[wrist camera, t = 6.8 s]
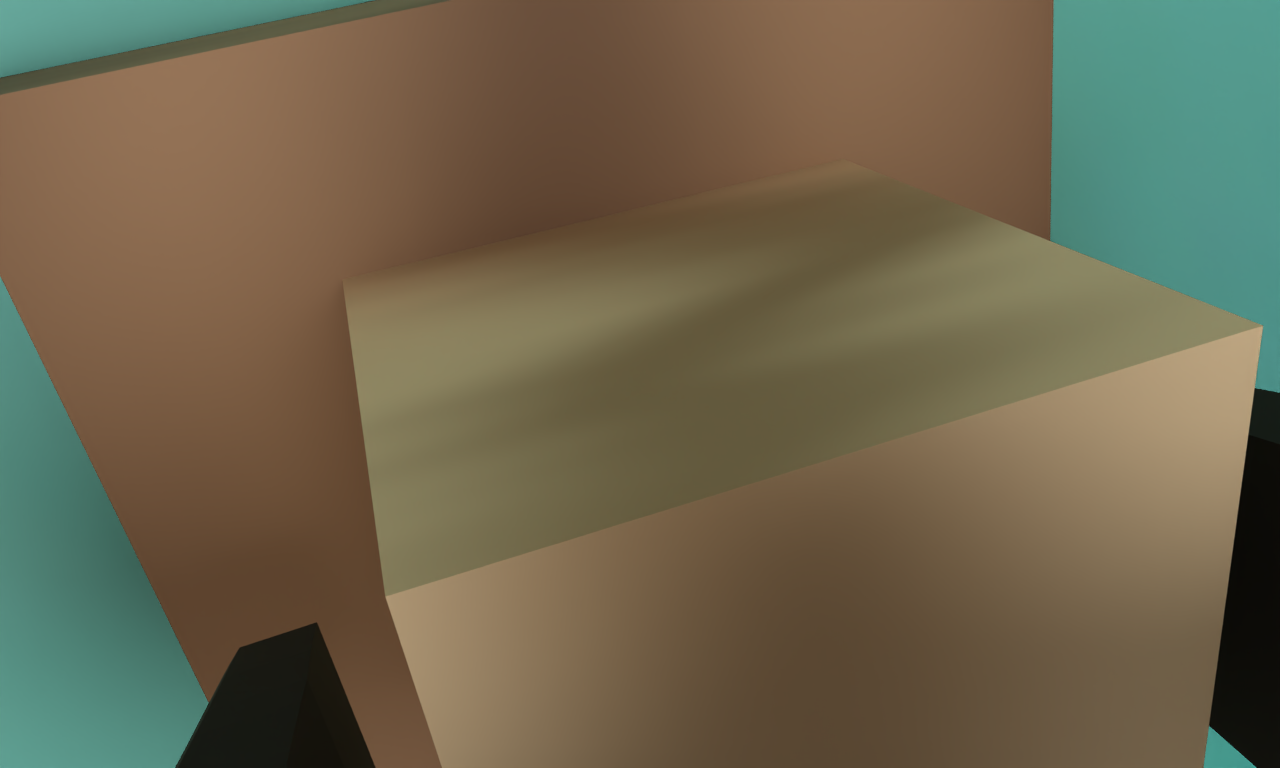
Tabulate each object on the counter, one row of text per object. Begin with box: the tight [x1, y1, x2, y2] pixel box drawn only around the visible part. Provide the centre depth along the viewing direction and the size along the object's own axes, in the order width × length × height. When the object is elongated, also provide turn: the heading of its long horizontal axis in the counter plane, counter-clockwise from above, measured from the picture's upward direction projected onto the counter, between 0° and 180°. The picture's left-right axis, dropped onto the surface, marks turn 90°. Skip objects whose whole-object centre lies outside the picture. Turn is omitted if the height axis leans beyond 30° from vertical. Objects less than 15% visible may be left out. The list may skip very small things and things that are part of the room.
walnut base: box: [0, 0, 1053, 768], centre depth 12 cm, size 10×10×2 cm
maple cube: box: [342, 159, 1263, 768], centre depth 8 cm, size 5×5×5 cm
